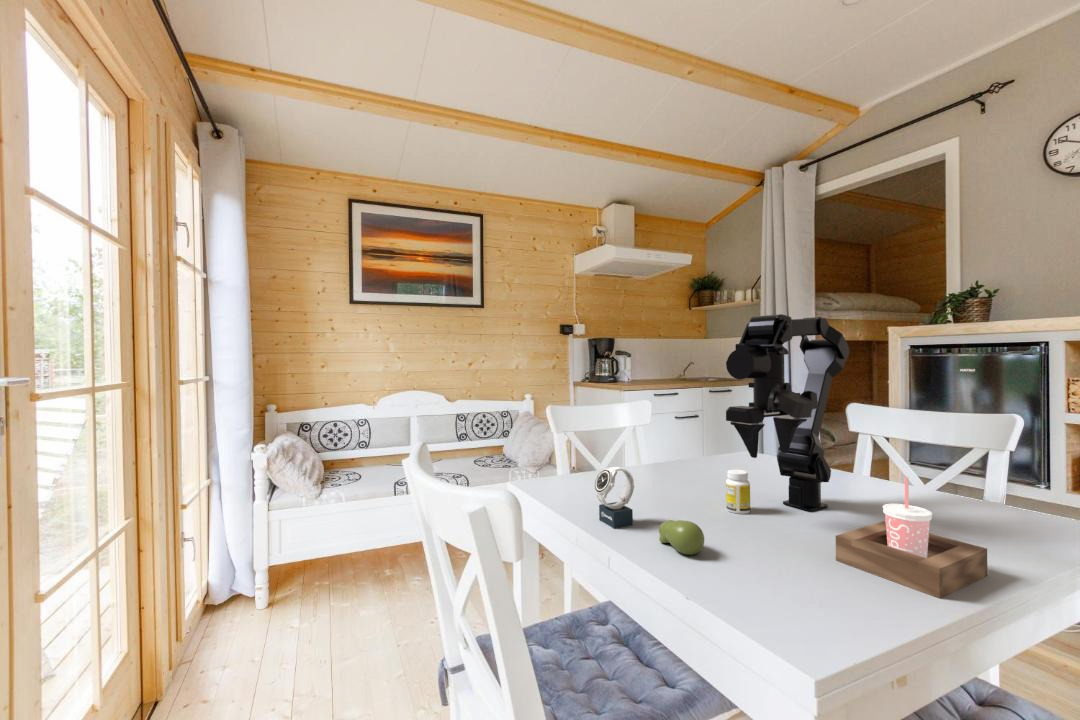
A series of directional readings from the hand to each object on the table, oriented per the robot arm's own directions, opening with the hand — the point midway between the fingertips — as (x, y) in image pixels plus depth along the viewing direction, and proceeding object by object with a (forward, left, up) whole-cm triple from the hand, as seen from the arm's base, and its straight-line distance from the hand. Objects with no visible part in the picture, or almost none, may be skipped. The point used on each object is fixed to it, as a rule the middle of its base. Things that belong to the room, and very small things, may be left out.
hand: (769, 455), depth 97 cm
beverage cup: (+1, +25, -13) cm, 28 cm away
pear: (+26, +2, -13) cm, 29 cm away
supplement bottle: (+1, -7, -13) cm, 15 cm away
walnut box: (+1, +25, -13) cm, 28 cm away
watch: (+28, -14, -13) cm, 34 cm away
